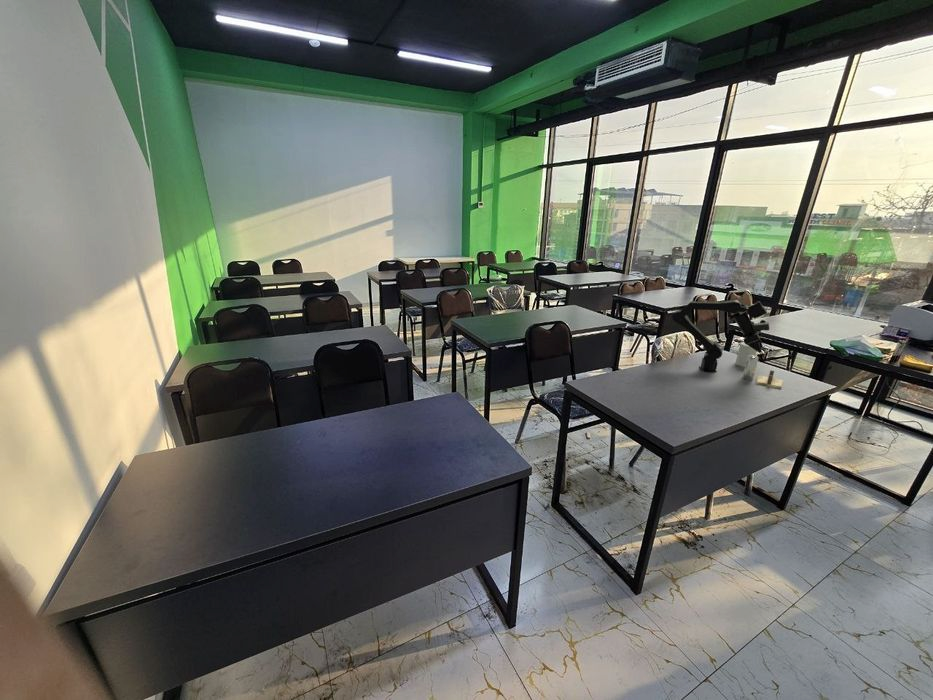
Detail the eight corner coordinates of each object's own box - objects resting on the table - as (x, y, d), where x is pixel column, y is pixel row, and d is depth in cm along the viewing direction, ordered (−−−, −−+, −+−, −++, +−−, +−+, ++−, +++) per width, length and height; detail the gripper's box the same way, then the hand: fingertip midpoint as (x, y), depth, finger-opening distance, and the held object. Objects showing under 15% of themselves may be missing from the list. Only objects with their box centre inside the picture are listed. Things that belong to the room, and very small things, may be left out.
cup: (756, 367, 217) (761, 346, 213) (741, 367, 217) (746, 346, 213) (746, 362, 224) (751, 342, 220) (732, 361, 224) (737, 341, 220)
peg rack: (755, 383, 197) (758, 373, 195) (757, 377, 204) (760, 368, 202) (780, 389, 191) (783, 379, 189) (782, 382, 198) (784, 372, 196)
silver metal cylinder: (745, 380, 201) (750, 358, 197) (740, 376, 205) (745, 354, 201) (754, 380, 200) (760, 358, 196) (749, 376, 205) (755, 355, 201)
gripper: (761, 319, 186) (779, 348, 184) (763, 311, 200) (780, 338, 198) (736, 329, 193) (753, 357, 192) (739, 321, 207) (755, 347, 206)
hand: (761, 350), depth 197 cm, fingers open, 9 cm apart
